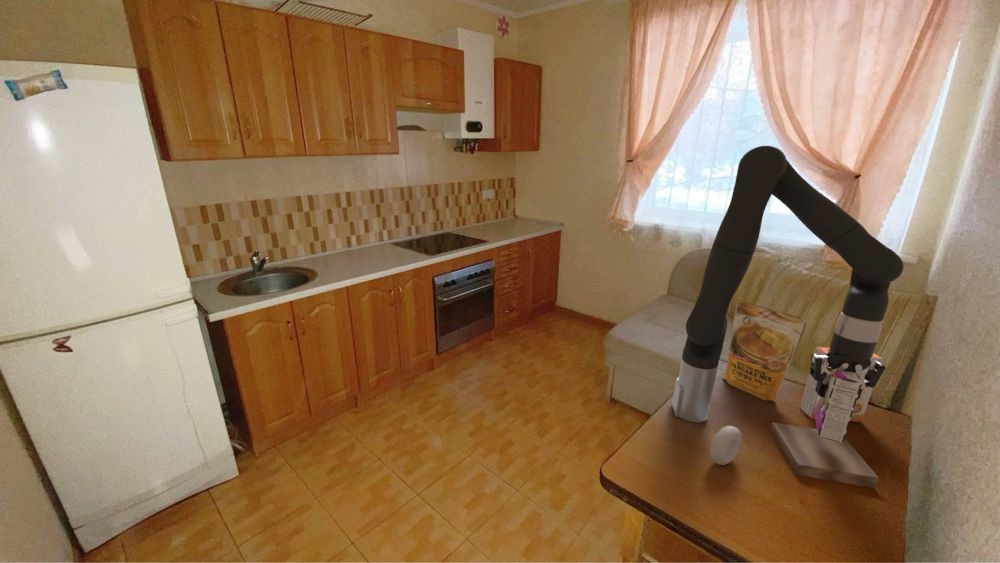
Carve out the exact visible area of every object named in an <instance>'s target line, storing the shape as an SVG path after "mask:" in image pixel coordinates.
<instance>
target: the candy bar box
mask: <svg viewBox="0 0 1000 563" xmlns="http://www.w3.org/2000/svg"><path fill="white" fill-rule="evenodd" d="M827 364H828V362H827ZM833 370H834V369H830V371H831V372H832V371H833ZM861 385H862V382H861V380H860V377H859V375H858V374H856V373H855V372H849V371H842V372H836V371H833V374H832V377H831V378H830V381H829V383H828V388H827V391H826V394H825V397H820V396H819V395H818V398H817V402H816V405H815V409H814V412H813V413H814V417H815V419H814V421H815V424H816V429H817V431H818V435H819V436H820V437H823V438H826V439H830V440H833V441H837V442H840V443H843V442H844V438H845V439H846V435H847V432H848V428H849V426H850V422H851V421H850V420H851V416H852V413H853V410H854V407H855V404H856V401H857V398H858V394H859V391H860V389H861Z"/></svg>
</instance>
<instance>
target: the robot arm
mask: <svg viewBox="0 0 1000 563" xmlns="http://www.w3.org/2000/svg"><path fill="white" fill-rule="evenodd" d="M732 191H733V192H732V195H731V199H730V202H729V205H728V208H727V210H726V213H725V214H724V216H723V219H722V220H721V222H720V225H719V228H718V231H717V232H716V234H715V237H714V240H713V243H712V246H711V249H710V252H709V255H708V259H707V262H706V266H705V270H704V273H703V279H702V283H701V287H700V292H699V294H698V297H697V299H696V301H695V304H694V306H693V308H692V310H691V312H690V314H689V317H687V320H686V322H685V331H686V334H687V336H686V341H685V344H684V346H683V349H682V354H681V361H680V366H679V374H678V377H676V379H675V383H674V384H675V385H674V391H673V395H672V401H671V402H672V403H671V406H672V409H673V414H674V416H675V417H676V418H677V417H678V418H680V419H682V420H684V421H686V422H690V423H699V424H700V423H704V422H706V421H707V420H708V416H709V413H710V406H711V402H712V398H713V397H712V396H713V392H714V386H715V382H716V378H717V377H716V376H717V371H718V367H719V363H720V359H721V355H722V353H723V352H722V351H723V348H724V347H723V346H724V341H725V338H726V334H727V328H728V319H727V314H728V310H729V307H730V304H731V301H732V300H733V297H734V295H735V293H736V292H737V291H738V288H739V287H740V285H741V284H742V282H743V279H744V277H745V275H746V273H747V271H748V269H749V267H750V264H751V262H752V258H753V256H754V255H755V254H754V253H755V251H756V248H757V244H758V241H759V238H760V233H761V227H762V223H763V216H764V213H765V211H766V208H767V206H768V203H769V201H770V199H771V197H772V196H774V197H775V198H776V199H778V200H779V202H781V203H782V204H784V205H785V207H787V208H788V209H789V210H790V211H791V213H793V214H794V216H795V217H796V218H797V219H798V220H799V221H800V222H801V224H803V225H804V226H805V227H806V228H807V229H808V230H809V231H810V232H811V233H812V234H813V235H814V236H816V237H817V238H818V239H819V240H820V241H821V242H823V244H825V245H826V246H827V247H829V248H830V249H831V250H833V251H834V252H835V253H837V254H838V255H839V256H840V257H841V258H842V260H844V262H845V263H846V264H847V265H848V266H849V267H851V269H852V270H851V274H850V280H849V287H848V291H847V294H846V296H845V297H844V298H845V299H844V303H843V305H842V309H841V312H840V314H839V316H838V318H837V321H836V322H835V326H834V331H833V334H832V338H831V342H830V345H829V348H830V351H829V352H828V353H827V354H826V355H817V354H815V353H812V354H811V355H810V365H809V366H810V367H809V371H810V375H811V376H812V377H813V378H814V379H815V380H816V381H817V385H816V388H815V391H816V392H817V394H818V395H819V396H820V397H825V394H826V391H827V388H828V383H829V381H830V378H831V377H832V374H833V371H836V372H842V371H849V372H855V373H856V374H858V375H859V377H860V380H861V382H862V385H861V389H860V391H859V394H858V398H857V400H858V399H859V398H860V396H861V393H862V390H863V389H864V388H865V387H871V388H873V389H874V388H875V387H876V386H877V385H878V383H879V380H880V378H881V377H882V375H883V373H884V372H885V370H886V368H887V367H886V365H884V364H883V363H882V362H881V363H880V362H879V361H877V360H875V361H871V360H870V358H872V356H873V353H874V352H875V349H876V346H877V344H878V341H879V337H880V335H881V332H882V327H883V321H884V318H885V315H886V312H887V309H888V306H889V300H890V299H889V292H888V291H889V288H890V286H891V282H893V281H895V280H897V279H898V278H899V277H900V276H901V275H902V273H903V271H904V262H903V260H902V258H901V257H900V256H899V255H898V253H896V252H895V251H894V250H893V249H891V248H889V247H887V246H886V245H885V244H884V243H882V242H881V241H880V240H878V239H877V238H875V236H873V235H871V234H870V233H869V232H868V230H867V229H866V228H865V227H864V226H863V225H862V224H861V223H860V222H858V220H857V219H855V218H854V217H853V216H851V215H850V214H849V213H848V212H847V211H846V210H844V209H843V208H842V207H841V206H839V205H838V204H837V203H835V202H834V201H832V200H831V199H830V198H828V197H826V196H825V195H824V194H822V193H821V192H820V191H819V190H817V189H816V188H814V187H813V185H811V184H810V183H809V182H807V180H805V179H804V177H803V176H801V175H800V173H798V171H797V170H796V169H795V168H794V166H793V165H792V164H791V163H790V162H789V160H788V159H787V157H786V155H785V152H783V150H782V149H780V148H778V147H776V146H774V145H768V144H767V145H766V144H765V145H764V144H763V145H758V146H755V147H753V148H751V149H749V150H747V151H746V152H745V153H744V155H742V157H741V159H740V160H739V163H738V166H737V172H736V176H735V181H734V186H733V190H732ZM874 354H875V353H874ZM825 361H827V362H828V364H827V365H826V366H825V367H824V368H823V371H822V372H821V368H822V365H824V362H825ZM867 367H869V370H868V371H867V373H866V375H865V377H864V375H863V370H864V369H866V368H867ZM830 369H834V370H833V371H832V372H831V371H830Z"/></svg>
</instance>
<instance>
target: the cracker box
mask: <svg viewBox="0 0 1000 563" xmlns="http://www.w3.org/2000/svg"><path fill="white" fill-rule="evenodd" d="M829 351H830V347H828V346H827V347H825V346H824V347H823V346H816V347H815V348H814V351H813V352H814V353H815V354H817V355H826V354H827V353H828V352H829ZM814 353H813V354H814ZM870 360H871V361H875V360H877V361H879V362H880V363H882V360H883V357H881V356H880V355H877V354H876V353H873V356H872V358H870ZM826 365H827V361H825V362H824V365H822V368H821V372H822V371H823V368H824V367H825V366H826ZM868 370H869V367H867V368H866V369H864V370H863V375H864V377H865V375H866V373H867V371H868ZM816 385H817V381H816V380H815V379H814V378H813V377H812V376H811V375H810V370H809V371H808V375H807V379H806V383H805V387H804V391H803V393H802V398H801V403H800V406H799V408H800V410H802V412H804V414H805V415H806V416H808V418H809V419H811V420H815V417H814V413H813V412H814V409H815V405H816V402H817V398H818V394H817V392H816V391H815V388H816ZM873 389H874V387H873V388H871V387H865V388H864V389H863V390H862V393H861V396H860V398H859V399H858V400H857V401H856V404H855V407H854V410H853V413H852V416H851V420H850V422H855V423H856V422H857V423H862V422H863V419H864V416H865V412H866V410H867V408H868V403H869V400H870V397H871V394H872V392H873Z"/></svg>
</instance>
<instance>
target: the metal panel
mask: <svg viewBox="0 0 1000 563" xmlns="http://www.w3.org/2000/svg"><path fill="white" fill-rule="evenodd" d="M769 430H770V431H769V432H770V434H771V436H772V438H773V439H774V441H775V443H776V444H777V446H778V447H779V449H780V451H781V452H782V454H783V456H784V458H785V459H786V461H787V462H788V464H789V466H790V467H791V469H792V471H793V472H794V474H795V475H796V476H802V477H808V478H813V479H818V480H819V479H820V480H826V481H831V482H836V483H843V484H849V485H853V486H859V487H865V488H871V489H875V488H876V487H877V484H878V480H879V479H880V478H879V477H878V475H876V473H875V472H874V470H873V469H872V468H871V467H870V466H869V465H868V463H867V462H866V461H865V459H863V457H862V456H861V455H860V454H859V453H858V452H857V451H856V449H855V448H854V447H853V445H851V443H850V442H849V441H848V440H847V439H846V437H845V438H844V442H843V443H840V442H837V441H833V440H830V439H826V438H823V437H820V436H819V435H818V431H817V428H812V427H806V426H799V425H791V424H787V423H786V424H785V423H780V422H773V421H772V422H771V426H770V429H769Z"/></svg>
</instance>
